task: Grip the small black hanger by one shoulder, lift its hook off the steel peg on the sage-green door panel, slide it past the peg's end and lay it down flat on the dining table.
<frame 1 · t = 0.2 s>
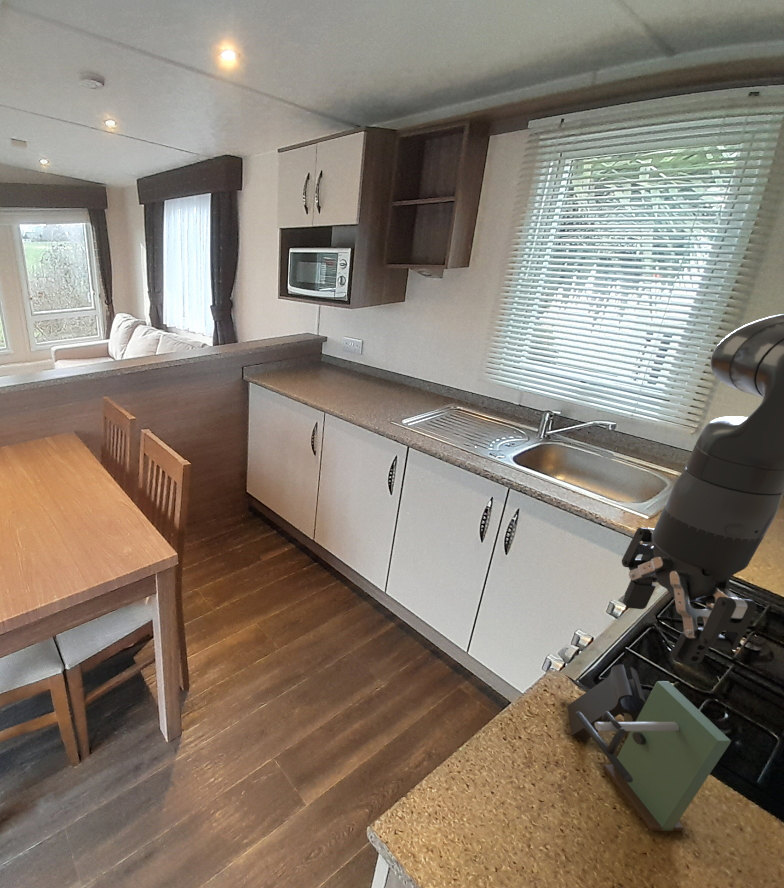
hand: (656, 631, 57), 27 cm above the countertop, tool pointing down, fingers open, 8 cm apart
door panel: (575, 799, 65), on the countertop
hanger: (602, 744, 61), point 11 cm above the countertop, touching door panel
phone stand: (603, 737, 73), on the countertop
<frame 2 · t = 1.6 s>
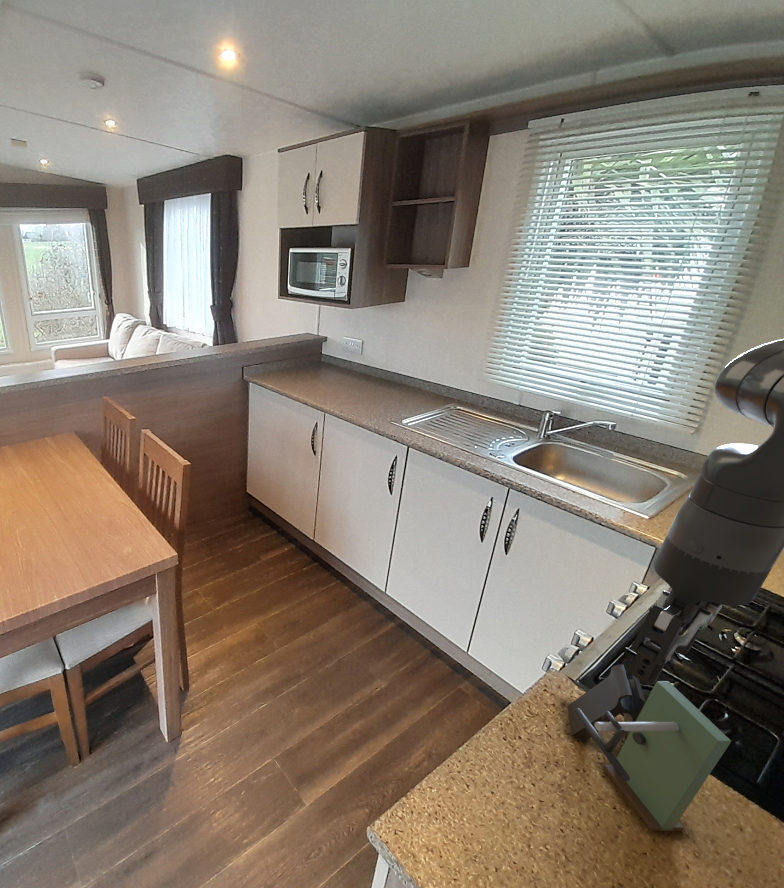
hand: (658, 662, 55), 26 cm above the countertop, tool pointing down, fingers open, 8 cm apart
nothing on the countertop moved.
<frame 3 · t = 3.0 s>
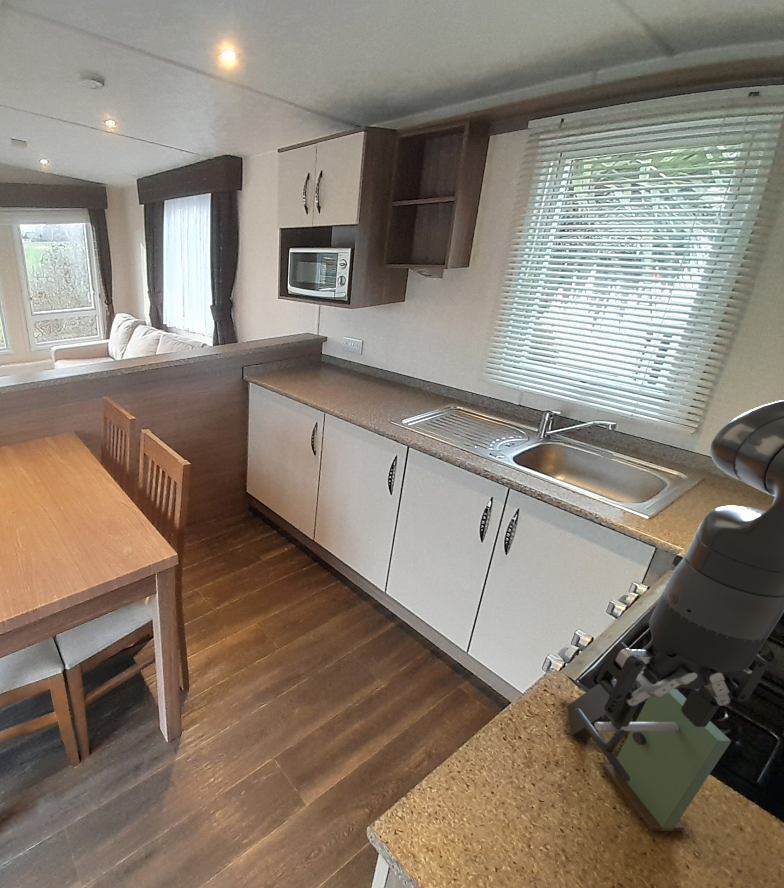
hand: (653, 719, 54), 21 cm above the countertop, tool pointing down, fingers open, 8 cm apart
nothing on the countertop moved.
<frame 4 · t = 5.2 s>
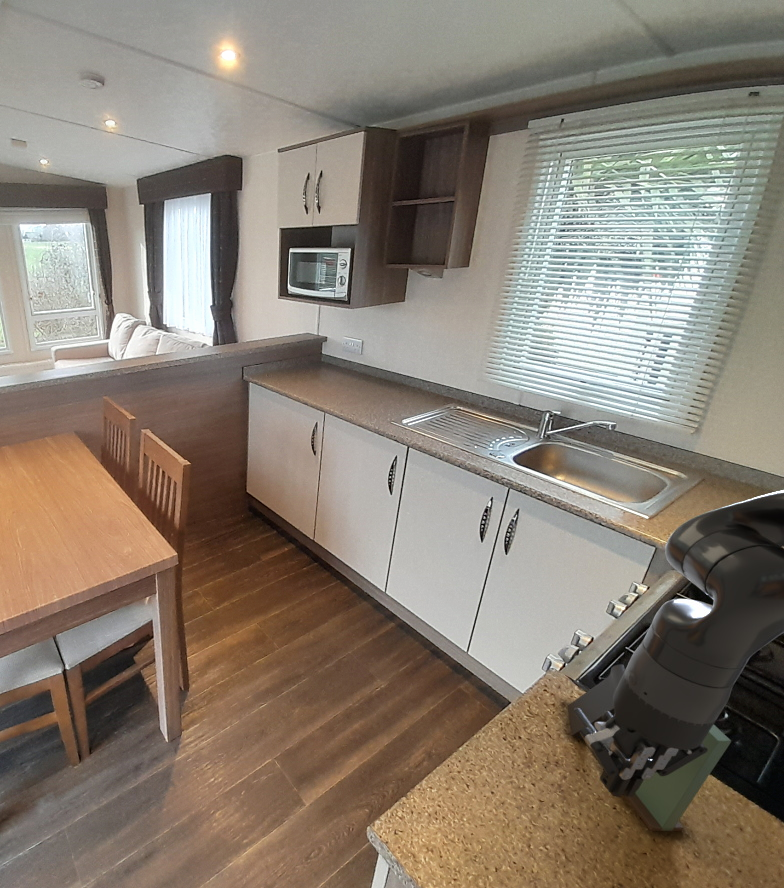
hand: (616, 788, 59), 8 cm above the countertop, tool pointing down, fingers closed on hanger, 1 cm apart
hanger: (600, 742, 61), point 11 cm above the countertop, tilted 6°, touching door panel, gripper
everything else where it was.
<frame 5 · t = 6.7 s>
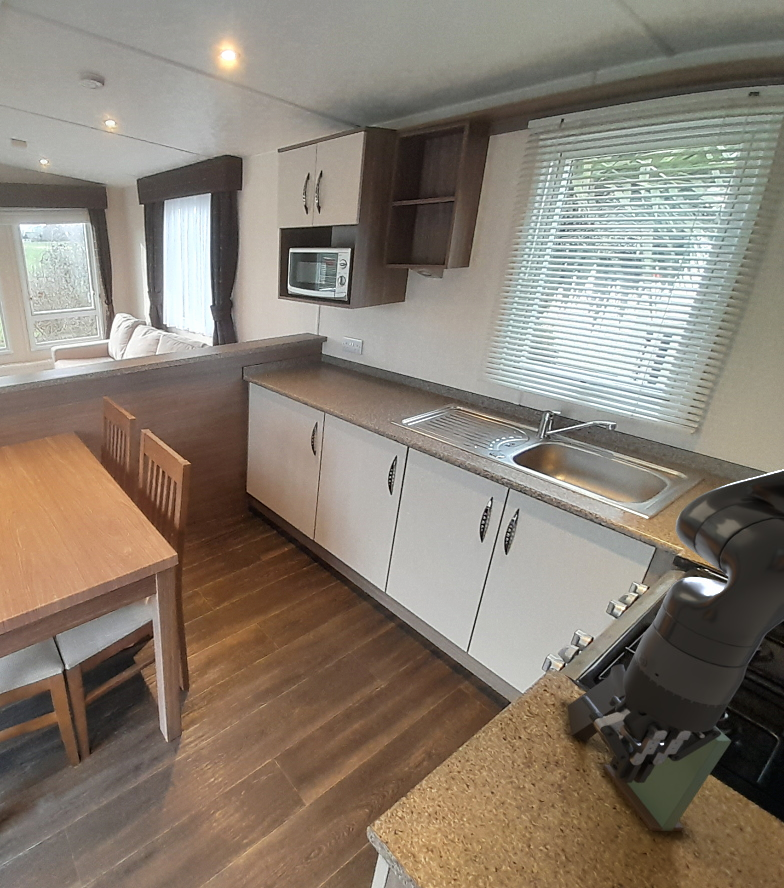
hand: (626, 774, 57), 11 cm above the countertop, tool pointing down, fingers closed on hanger, 1 cm apart
hanger: (608, 729, 60), point 14 cm above the countertop, touching door panel, gripper
everything else where it was.
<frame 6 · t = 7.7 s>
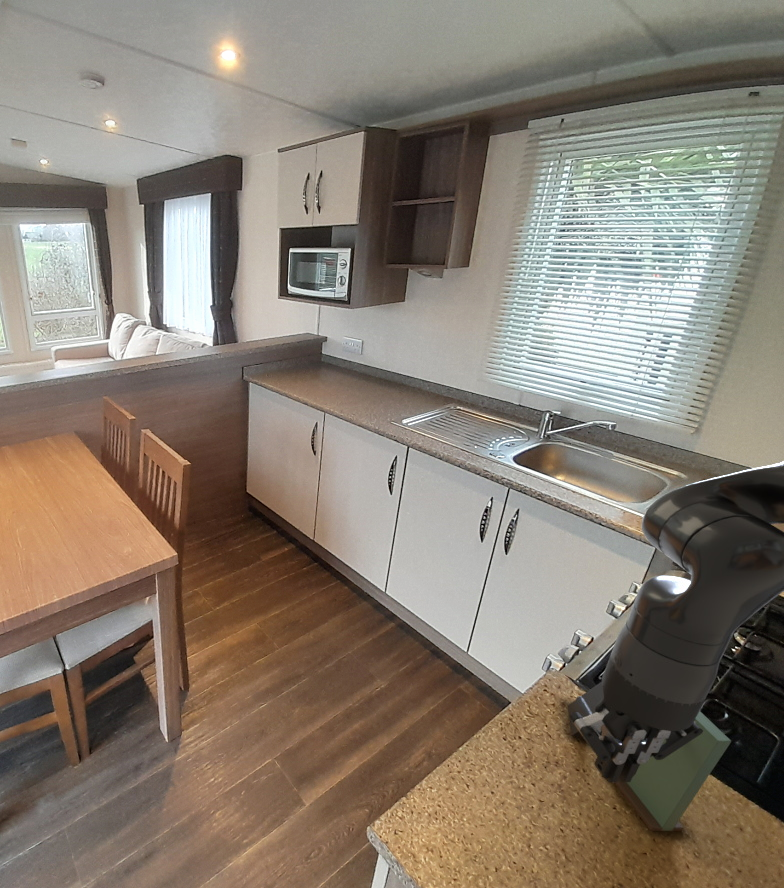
hand: (612, 774, 57), 12 cm above the countertop, tool pointing down, fingers closed on hanger, 1 cm apart
hanger: (597, 729, 60), point 14 cm above the countertop, tilted 7°, touching door panel, gripper
everything else where it was.
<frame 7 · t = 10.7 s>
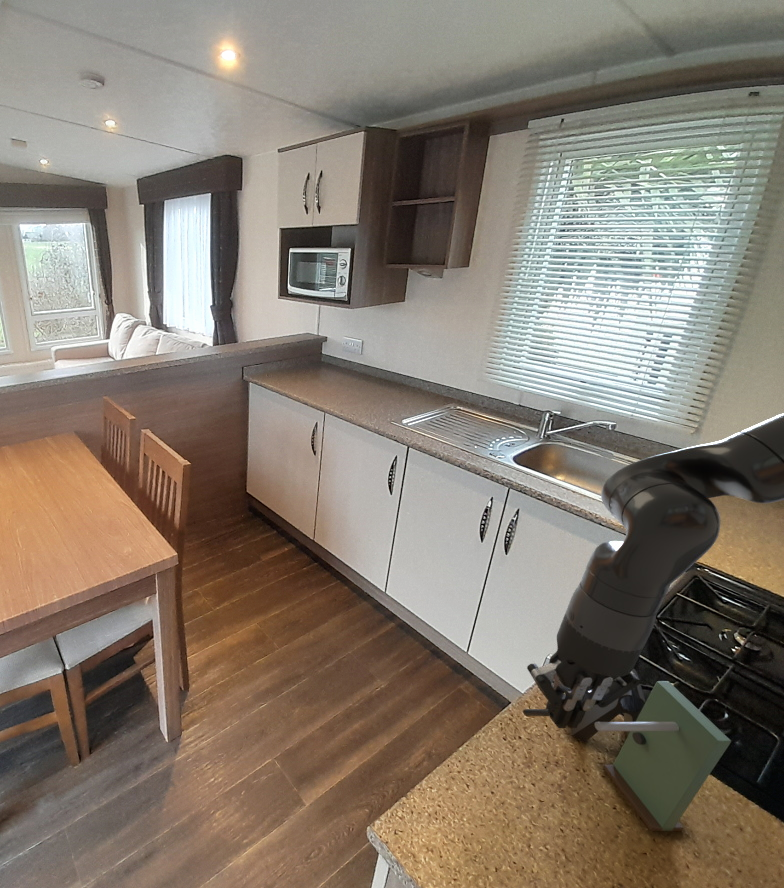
hand: (562, 721, 64), 11 cm above the countertop, tool pointing down, fingers closed on hanger, 1 cm apart
hanger: (543, 712, 68), point 9 cm above the countertop, tilted 60°, touching gripper
everything else where it was.
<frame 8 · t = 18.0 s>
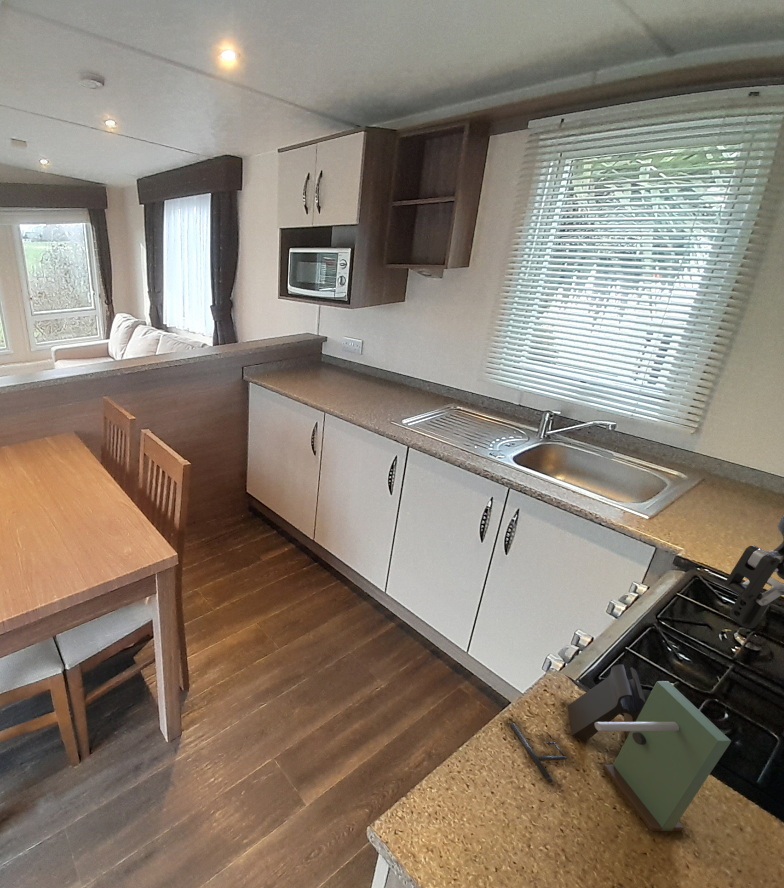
hand: (777, 622, 57), 28 cm above the countertop, tool pointing down, fingers open, 8 cm apart
hanger: (529, 751, 71), on the countertop, tilted 91°
everything else where it was.
at the end: hanger touching countertop; hanger on the countertop; the gripper is holding nothing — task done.
